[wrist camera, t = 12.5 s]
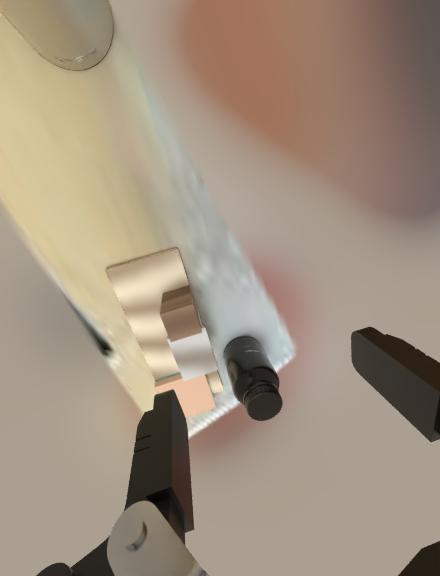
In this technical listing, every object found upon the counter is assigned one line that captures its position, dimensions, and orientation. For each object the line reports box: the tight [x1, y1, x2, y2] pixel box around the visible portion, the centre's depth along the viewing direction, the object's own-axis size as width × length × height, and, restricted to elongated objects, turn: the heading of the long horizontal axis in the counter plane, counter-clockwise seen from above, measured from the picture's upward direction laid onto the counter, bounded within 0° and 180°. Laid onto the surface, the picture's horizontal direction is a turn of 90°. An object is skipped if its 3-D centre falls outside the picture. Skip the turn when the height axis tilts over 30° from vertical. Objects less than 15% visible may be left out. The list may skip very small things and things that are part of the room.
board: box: [105, 248, 223, 394], centre depth 38 cm, size 26×10×1 cm, turn 14°
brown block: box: [160, 285, 219, 381], centre depth 33 cm, size 11×5×7 cm, turn 14°
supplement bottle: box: [224, 337, 282, 421], centre depth 36 cm, size 7×7×12 cm
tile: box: [155, 373, 216, 418], centre depth 40 cm, size 2×8×8 cm
